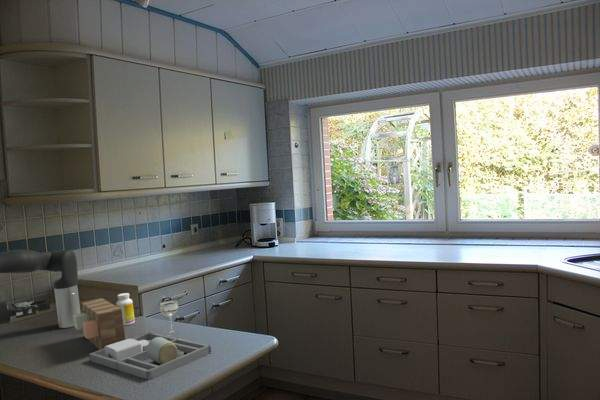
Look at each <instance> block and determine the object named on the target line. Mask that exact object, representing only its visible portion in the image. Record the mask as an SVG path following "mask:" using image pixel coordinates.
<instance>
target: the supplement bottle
mask: <svg viewBox="0 0 600 400" xmlns="http://www.w3.org/2000/svg"><path fill="white" fill-rule="evenodd" d="M117 299H118V300H117V301H116V303H115V304H116V305H115V306H117V307H119V308H120V309H122V318H123V326H124V327H127V326H130V325H133V324H135V322H136V318H135V309H134V302H133V299H132V298H130V293H129V292H124V293H123V292H122V293H119V294H117Z"/></svg>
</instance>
